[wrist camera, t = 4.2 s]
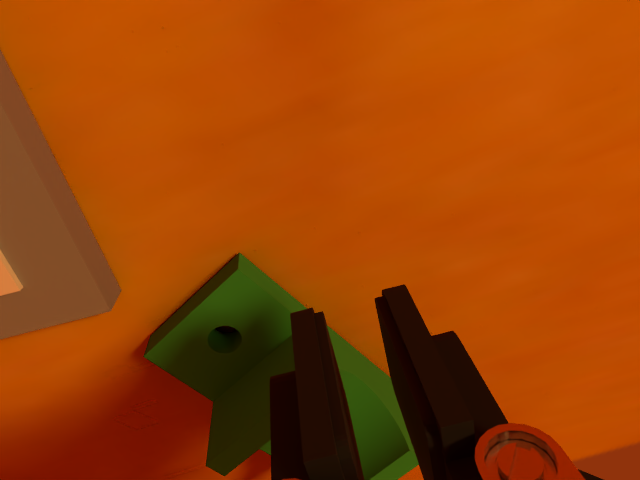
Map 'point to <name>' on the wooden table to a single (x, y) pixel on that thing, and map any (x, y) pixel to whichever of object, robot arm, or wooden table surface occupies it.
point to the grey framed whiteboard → (42, 231)
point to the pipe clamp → (269, 371)
